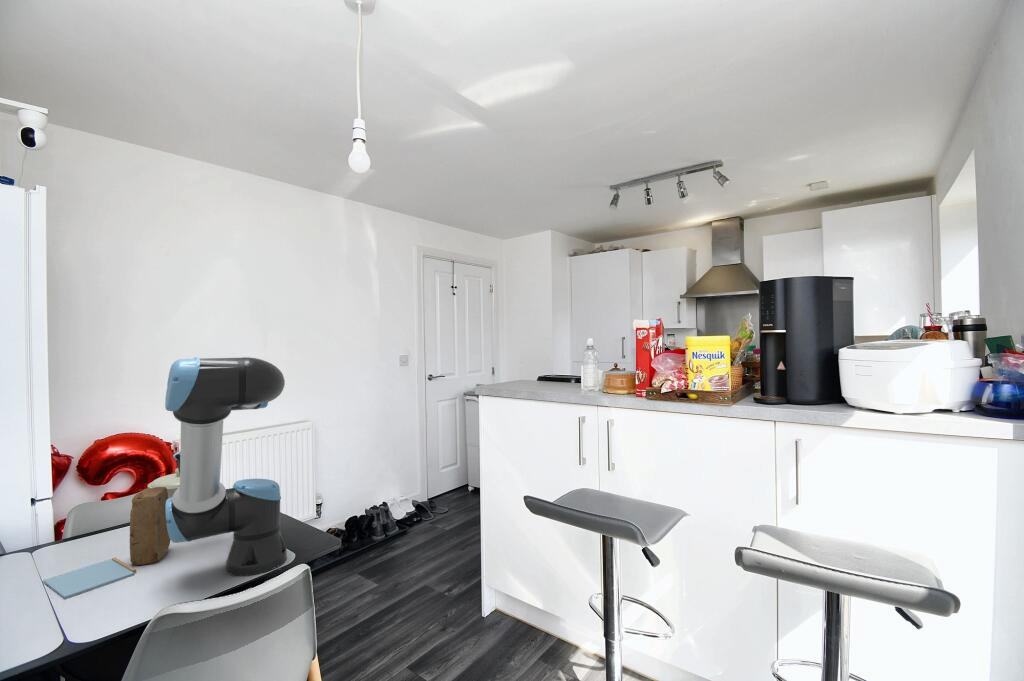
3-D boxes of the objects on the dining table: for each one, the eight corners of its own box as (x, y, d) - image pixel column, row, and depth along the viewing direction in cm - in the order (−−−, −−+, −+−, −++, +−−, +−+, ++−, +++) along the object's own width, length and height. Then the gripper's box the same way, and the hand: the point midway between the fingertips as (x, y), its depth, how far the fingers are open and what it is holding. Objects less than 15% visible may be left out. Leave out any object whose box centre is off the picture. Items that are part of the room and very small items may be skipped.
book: (137, 573, 126) (137, 570, 126) (64, 599, 113) (64, 595, 113) (113, 560, 134) (113, 556, 134) (43, 582, 122) (43, 578, 122)
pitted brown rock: (157, 565, 131) (157, 494, 131) (126, 568, 129) (126, 496, 130) (174, 548, 142) (174, 483, 142) (146, 551, 140) (146, 485, 140)
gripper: (212, 424, 154) (212, 495, 153) (167, 430, 143) (167, 507, 142) (224, 426, 150) (224, 499, 149) (179, 432, 139) (178, 512, 138)
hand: (196, 503), depth 146 cm, fingers closed
